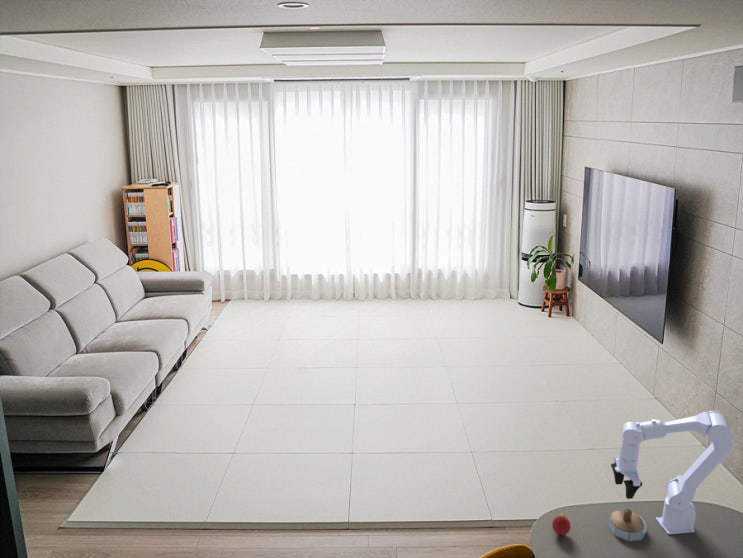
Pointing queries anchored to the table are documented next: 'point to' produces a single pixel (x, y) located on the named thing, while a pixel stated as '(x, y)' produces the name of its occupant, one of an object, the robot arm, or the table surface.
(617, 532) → the bowl
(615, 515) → the lid
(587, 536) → the table surface
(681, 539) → the table surface
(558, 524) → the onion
